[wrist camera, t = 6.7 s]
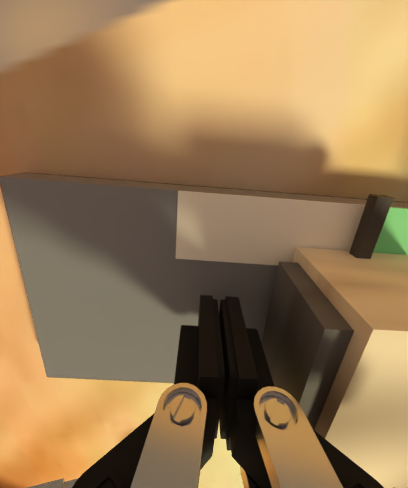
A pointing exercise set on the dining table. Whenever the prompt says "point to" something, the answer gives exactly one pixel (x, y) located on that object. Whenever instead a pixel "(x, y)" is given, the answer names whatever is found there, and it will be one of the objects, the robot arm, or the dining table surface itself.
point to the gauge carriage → (347, 346)
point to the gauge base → (158, 262)
